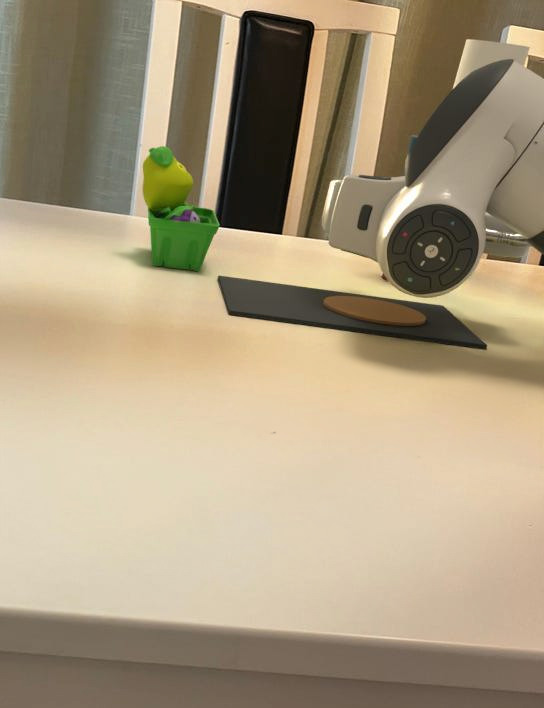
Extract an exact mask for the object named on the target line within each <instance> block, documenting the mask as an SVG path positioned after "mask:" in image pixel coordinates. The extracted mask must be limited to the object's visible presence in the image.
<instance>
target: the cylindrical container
mask: <svg viewBox="0 0 544 708" xmlns="http://www.w3.org/2000/svg"><path fill="white" fill-rule="evenodd" d="M464 44H465V45H464V47H463V51H462V54H461V59H460V61H459V65H458V69H457V72H456V76H455V80H454V83H453V85H452V86H453V87H452V90H453V89H454V88H455V87H456V85H457V84H458V83H459V82H460V81H461V80H462V79H464V78H465V77H466V76H467V75H468V74H469V73H470V72H472V71H474V70H477V69H479V68H481V67H483V66H485V65H488V64H491V63H493V62H497V61H500V60H505V59H514V61H516V62H518V63H519V64H521V65H523V66H524V67H525V64H526V61H527V58H528V55H529V51H530V49H531V47H530V46H526V45H520V44H515V43H514V44H513V43H507V42H498V41H490V40H482V39H472V38H471V39H469V38H466V40H465V43H464Z"/></svg>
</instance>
